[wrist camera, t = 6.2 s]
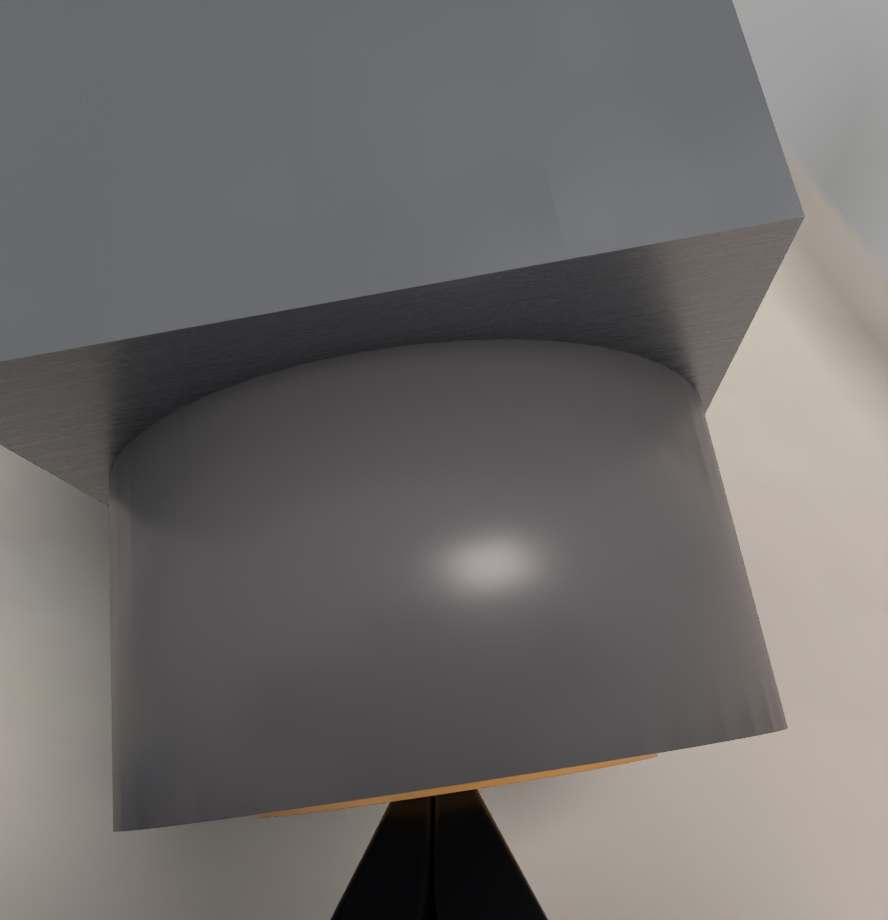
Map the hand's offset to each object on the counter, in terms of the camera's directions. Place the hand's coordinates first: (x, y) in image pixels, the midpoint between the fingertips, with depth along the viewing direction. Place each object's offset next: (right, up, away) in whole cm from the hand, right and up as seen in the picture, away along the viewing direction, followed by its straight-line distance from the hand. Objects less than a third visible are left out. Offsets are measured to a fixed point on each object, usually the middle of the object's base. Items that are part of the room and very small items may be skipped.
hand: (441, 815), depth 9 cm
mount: (0, +5, +10) cm, 11 cm away
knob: (0, +5, +8) cm, 9 cm away
